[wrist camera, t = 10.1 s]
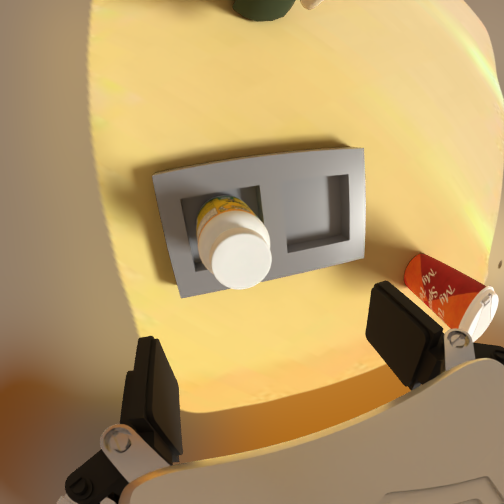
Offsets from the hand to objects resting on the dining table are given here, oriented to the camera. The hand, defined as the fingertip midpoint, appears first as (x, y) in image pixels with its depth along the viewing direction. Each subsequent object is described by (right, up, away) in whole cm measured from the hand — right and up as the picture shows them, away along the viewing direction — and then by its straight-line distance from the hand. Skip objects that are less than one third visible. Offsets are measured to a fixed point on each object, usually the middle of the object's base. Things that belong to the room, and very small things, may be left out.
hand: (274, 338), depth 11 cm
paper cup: (+23, +1, +25) cm, 34 cm away
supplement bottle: (-4, +7, +16) cm, 17 cm away
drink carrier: (+1, +7, +17) cm, 18 cm away
